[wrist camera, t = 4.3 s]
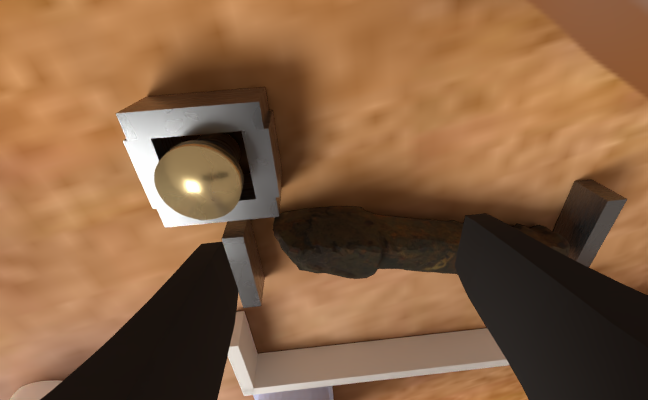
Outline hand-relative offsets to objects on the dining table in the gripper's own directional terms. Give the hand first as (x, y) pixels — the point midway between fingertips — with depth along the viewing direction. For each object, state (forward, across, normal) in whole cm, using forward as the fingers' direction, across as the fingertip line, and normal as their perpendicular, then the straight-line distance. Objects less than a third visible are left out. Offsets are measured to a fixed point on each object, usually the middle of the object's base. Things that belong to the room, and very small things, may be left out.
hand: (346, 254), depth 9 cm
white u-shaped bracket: (+9, -6, +16) cm, 20 cm away
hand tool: (+10, -6, +8) cm, 14 cm away
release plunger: (+9, +6, 0) cm, 11 cm away
